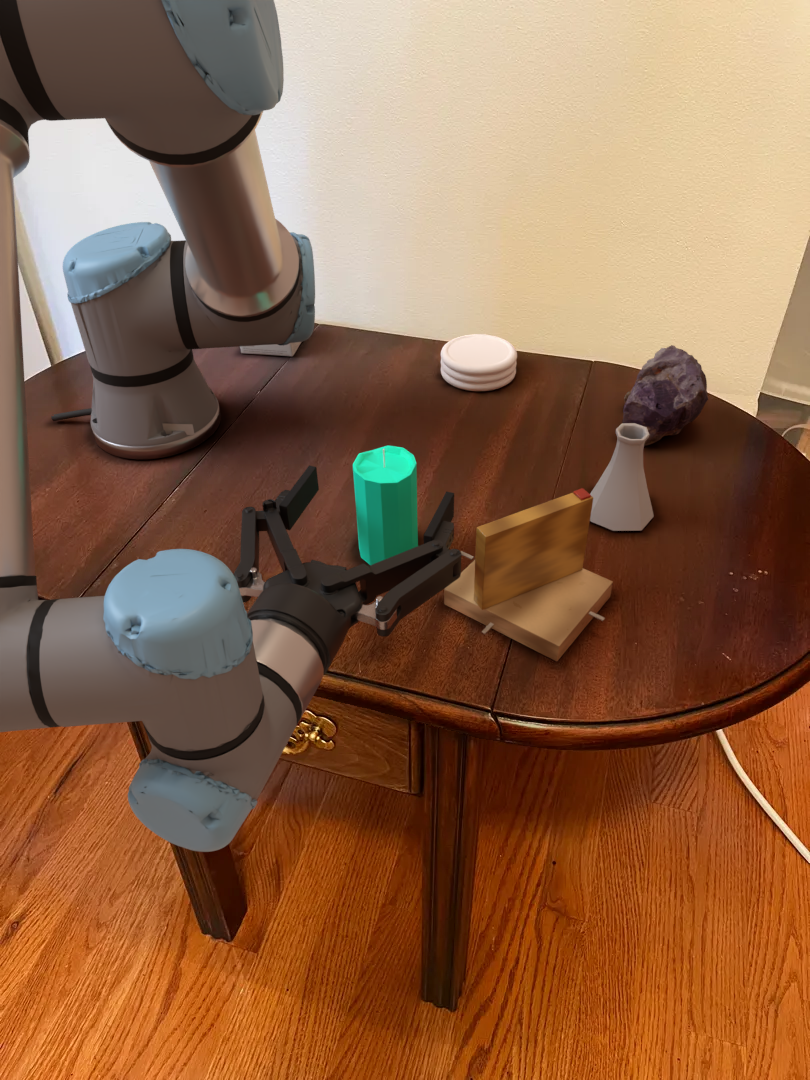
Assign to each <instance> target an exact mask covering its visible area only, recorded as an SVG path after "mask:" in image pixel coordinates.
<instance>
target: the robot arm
mask: <svg viewBox="0 0 810 1080" xmlns="http://www.w3.org/2000/svg"><path fill="white" fill-rule="evenodd" d="M283 57H284V56H283V49H282V38H281V30H280V24H279V17H278V12H277V8H276V4H275V0H0V733H6V732H7V733H8V732H17V731H29V730H36V729H37V730H38V729H39V730H40V729H50V728H60V727H61V728H68V727H69V728H70V727H80V726H95V725H107V724H120V723H121V724H122V723H131V722H133V723H134V722H142V724H143V727H144V730H145V733H146V736H147V738H148V741H149V743H150V746H151V749H150V752H149V754H148V755H147V756H146V757H145V758H143V759H141V761H140V762H139V764H138V769H137V770H136V772H135V774H134V776H133V778H132V780H131V782H130V784H129V787H128V792H127V800H128V801H127V802H128V804H129V807H130V810H131V811H132V813H133V814H134V815H135V817H136V818H137V819H138V820H139V821H140V822H141V823H142V824H143V826H145V827H146V828H147V830H150V832H152V833H153V834H155V835H156V836H158V837H160V838H161V839H163V840H164V841H166V842H168V843H170V844H173V845H175V846H177V847H180V848H182V849H187V850H190V851H192V852H199V853H209V852H210V853H211V852H215V851H219V850H222V849H223V848H225V847H227V846H228V845H229V844H230V843H231V842H232V841H233V840H234V838H235V836H236V835H237V833H238V831H239V830H240V828H241V827H242V825H243V824H244V822H245V820H246V819H247V818H248V815H249V814H250V813H251V811H252V810H254V809H256V806H257V805H258V802H259V801H258V799H259V797H260V796H261V793H262V792H263V789H264V788H265V786H266V784H267V782H268V781H269V778H270V776H271V774H272V773H273V771H274V769H275V767H276V765H277V763H278V762H279V759H280V757H281V756H282V754H283V752H284V750H285V748H286V747H287V745H288V743H289V741H290V739H291V737H292V735H293V733H294V731H295V730H296V728H297V727H298V724H299V722H300V720H301V719H302V717H303V715H305V712H306V710H307V708H308V707H309V705H310V703H311V701H312V699H313V697H314V695H315V694H316V692H317V690H318V688H319V686H320V684H321V683H322V680H323V678H324V675H325V674H327V672H328V670H329V668H330V667H331V665H332V663H333V661H334V659H335V658H336V656H337V654H338V653H339V651H340V649H341V647H342V645H343V643H344V641H345V639H346V636H347V635H348V632H349V630H350V629H351V628H352V627H353V626H354V625H356V624H358V623H359V622H362V623H365V624H367V625H370V626H373V627H376V628H375V630H376V634H377V635H378V636H379V637H382V638H385V637H389V636H390V635H391V634H392V633H393V631H394V630H395V629H396V627H397V626H398V624H399V623H400V621H401V620H402V619H403V618H405V617H406V616H408V615H410V613H413V612H414V611H415V610H416V609H418V608H419V607H420V606H422V605H423V604H425V603H426V602H427V601H429V600H430V599H432V598H433V597H434V596H436V595H438V594H439V593H440V592H441V591H444V589H445V588H446V587H447V586H449V585H450V584H451V583H453V582H454V581H456V580H457V579H458V578H459V577H460V576H461V572H462V555H461V551H462V550H459V548H458V549H457V548H451V546H452V543H453V542H454V539H455V523H454V522H452V521H453V519H454V518H455V492H451V491H448V490H447V491H445V493H444V495H443V497H442V498H441V501H440V503H439V504H438V507H437V509H436V511H435V513H434V514H433V516H432V518H431V520H430V522H429V524H428V525H427V528H426V530H425V532H424V534H423V544H420V545H418V546H417V547H415V548H412V549H410V550H407V551H405V552H402V553H400V554H397V555H395V556H392V557H390V558H387V559H385V560H382V561H380V562H377V563H375V564H372V565H370V564H369V565H368V564H366V563H361V564H358V565H356V566H353V567H352V568H348V569H347V566H343V565H335V564H334V565H333V564H326V563H324V562H322V561H320V560H316V559H311V560H310V561H307V562H306V561H305V562H302V560H301V557H300V555H299V553H298V551H297V549H296V548H295V547H294V545H293V543H292V540H291V538H290V536H289V533H288V531H291V530H292V528H293V527H294V525H295V524H296V523H297V521H298V520H299V518H300V517H301V516H302V515H303V513H304V511H305V510H306V509H307V508H308V506H309V505H310V503H311V502H312V500H313V499H314V497H315V496H316V494H318V492H319V490H320V488H319V487H320V486H319V480H318V479H319V478H318V469H317V468H318V467H317V466H314V465H308V466H307V467H306V469H305V470H304V471H303V472H302V474H301V476H300V477H299V478H298V480H297V481H296V482H295V483H294V485H293V486H292V487H291V489H284V490H282V491H281V492H279V494H278V496H277V497H276V498H275V499H272V498H268V499H265V500H264V501H262V510H256V508H255V507H254V506H246V507H244V508H243V509H242V510H241V527H240V528H241V529H240V531H241V532H240V554H239V555H240V556H239V557H240V558H239V563H238V565H237V567H236V569H235V570H234V572H232V570H231V569H230V568H229V567H228V565H227V564H225V563H224V562H223V560H220V559H219V558H217V557H215V556H214V555H212V554H209V553H206V552H203V551H201V550H196V549H189V548H172V549H163V550H159V551H157V552H156V554H155V556H153V557H150V558H148V559H141V558H138V559H136V560H134V561H132V562H130V563H129V564H127V565H126V566H125V567H123V568H122V569H121V570H120V571H119V572H118V573H117V574H116V575H115V576H114V577H113V578H112V579H111V582H110V583H109V584H108V586H107V588H106V591H105V593H104V595H95V596H81V597H69V598H51V599H39V594H38V583H37V581H38V579H37V575H36V562H35V561H36V560H35V546H34V543H35V542H34V529H33V527H34V525H33V512H32V511H33V510H32V493H31V491H32V490H31V489H32V488H31V473H30V472H31V471H30V456H29V453H30V452H29V438H28V420H27V404H26V403H27V402H26V382H25V366H24V347H23V346H24V345H23V328H22V315H21V314H22V311H21V294H20V293H21V292H20V291H21V290H20V276H19V273H20V272H19V258H18V256H19V254H18V239H17V238H18V237H17V221H16V204H15V203H16V201H15V200H16V199H15V185H14V184H15V183H14V178H15V177H17V176H18V175H20V174H21V173H22V172H23V171H24V170H25V169H26V168H27V167H28V165H29V164H30V158H31V155H30V154H31V152H30V151H31V150H30V142H29V141H30V140H29V130H30V128H31V126H32V125H34V124H35V123H37V122H38V121H51V122H55V121H72V120H73V121H74V120H96V119H97V120H98V119H99V120H100V119H104V120H105V121H106V123H107V125H108V127H109V129H110V130H111V131H112V134H114V136H115V137H116V138H117V140H119V141H120V142H121V144H122V145H124V146H125V147H126V148H127V149H128V150H129V151H131V152H132V153H133V154H135V155H136V156H139V157H140V158H142V159H144V160H146V161H148V162H149V164H150V166H151V169H152V170H153V172H154V175H155V177H156V179H157V181H158V183H159V186H160V188H161V189H162V192H163V194H164V196H165V199H166V201H167V203H168V205H169V207H170V209H171V211H172V214H173V215H174V218H175V220H176V222H177V224H178V226H179V228H180V230H181V233H182V235H183V237H184V239H185V240H172V235H171V234H170V232H169V231H168V229H167V228H166V226H164V225H163V224H161V223H157V222H155V223H152V222H150V221H138V222H137V221H136V222H130V223H125V224H119V225H116V226H115V225H114V226H112V227H107V228H105V229H103V230H100V231H96V232H94V233H93V234H90V235H88V236H86V237H84V238H83V239H80V240H79V241H78V242H76V243H75V244H73V246H72V247H70V248H69V249H68V251H67V252H66V254H65V255H64V257H63V261H62V272H63V276H64V280H65V281H64V282H65V284H66V289H67V293H66V294H67V300H68V302H69V303H70V306H71V308H72V311H73V315H74V318H75V322H76V325H77V329H78V331H79V335H80V338H81V342H82V345H83V348H84V351H85V354H86V358H87V361H88V364H89V368H90V371H91V374H92V375H91V376H92V380H93V382H92V393H91V394H92V395H91V396H92V397H91V398H92V399H91V407H90V408H83V409H82V408H81V409H77V410H72V411H71V410H69V411H64V412H59V413H55V414H53V415H54V416H52V415H50V419H51V420H52V421H53V422H57V421H63V420H69V419H74V418H80V417H81V418H82V417H86V416H90V428H91V432H92V435H93V437H94V441H95V442H96V444H97V445H98V447H99V448H100V449H101V450H102V451H104V452H106V453H108V454H110V455H112V456H115V457H118V458H123V459H129V460H130V459H131V460H153V459H160V458H167V457H171V456H172V457H173V456H175V455H178V454H181V453H185V452H187V451H189V450H192V449H193V448H196V447H198V446H199V445H201V444H203V443H204V442H205V441H207V440H208V439H210V438H211V436H213V435H214V434H215V432H217V430H218V428H219V427H220V424H221V420H222V415H221V408H220V404H219V400H218V397H217V396H216V394H215V392H213V390H212V388H211V387H210V386H209V384H208V382H207V380H206V379H205V377H204V375H203V373H202V371H201V369H200V368H199V366H198V365H197V362H196V361H195V357H194V352H193V350H201V349H219V348H235V347H236V348H237V347H238V348H239V347H240V346H255V345H272V344H277V345H280V346H281V345H283V346H284V345H287V344H289V343H295V342H301V343H302V342H306V341H307V340H309V339H310V338H311V337H312V336H313V333H314V329H315V322H316V321H315V320H316V306H315V304H316V277H315V261H314V260H315V259H314V251H313V246H312V242H311V240H310V238H309V237H308V236H307V235H305V234H302V233H296V232H293V231H291V232H290V231H289V230H288V228H287V227H286V226H285V225H284V224H283V223H282V222H280V221H279V220H278V218H277V219H276V217H275V211H274V208H273V207H274V206H273V203H272V199H271V194H270V190H269V186H268V185H269V184H268V181H267V176H266V171H265V168H264V164H263V159H262V155H261V151H260V145H259V142H258V137H257V133H256V129H257V127H258V125H259V123H260V121H261V119H262V116H263V114H264V111H270V110H273V109H274V108H276V107H275V106H276V105H277V104H278V103H280V101H281V99H282V96H283V92H284V81H285V80H284V79H285V78H284V58H283ZM260 532H266V534H267V536H268V538H269V541H270V543H271V546H272V548H273V550H274V553H275V555H276V558H277V560H278V563H279V565H280V568H281V570H282V571H281V572H280V573H277V574H274V575H272V576H271V577H268V579H266V580H264V579H263V575H262V572H260ZM450 548H451V549H450ZM358 582H359V586H360V588H358V586H357V583H358ZM382 594H384V596H381V595H382ZM252 597H253V598H256V599H255V601H254V602H253V604H252V605H251V606H250V608H249V609H248V611H247V610H246V608H245V604H244V603H247V602H249V601H250V600H251V599H252Z"/></svg>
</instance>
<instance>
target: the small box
mask: <svg viewBox="0 0 810 1080" xmlns="http://www.w3.org/2000/svg"><path fill="white" fill-rule="evenodd" d="M301 344H302V342H295V343H289V344H287V345H284V346H283V345H281V346H280V345H277V344H272V345H255V346H239V349H240V353H241V354H247V355H248V354H249V355H262V356H263V355H265V356H282V357H294V355H295V354H296V352H297V350H298V349H299V347H300V345H301Z"/></svg>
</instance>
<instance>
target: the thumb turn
mask: <svg viewBox="0 0 810 1080" xmlns="http://www.w3.org/2000/svg"><path fill="white" fill-rule="evenodd" d="M592 504H593V497H592V496H591V495H590V493H589V492H588V491H587V490H585V488H584V487H581V488H579V489H575V490H573V491H572V492H570V493H567V494H565V495H562V496H559V497H556V498H554V499H550V500H548V501H545V502H543V503H539V504H537V505H533V506H532V507H529V508H526V509H523V510H519V511H518V512H515V513H512V514H509V515H507V516H504V517H501V518H498V519H495V520H493V521H490V522H486V523H485V524H482V525H478V526H477V527H476V532H475V553H474V554H475V555H474V560H475V577H474V601H475V602H476V603H477V605H478V606H479V607H480V608H481V609H482V610H483V609H486V608H488V607H491V606H493V605H496V604H498V603H501V602H503V601H506V600H508V599H511V598H513V597H516V596H518V595H521V594H523V593H526V592H528V591H531V590H533V589H536V588H538V587H541V586H543V585H546V584H548V583H551V582H553V581H556V580H558V579H561V578H563V577H566V576H568V575H571V574H573V573H576V572H578V571H581V570H582V569H583V568H584V561H585V555H586V549H587V542H588V535H589V528H590V522H591V521H590V517H591V510H592Z"/></svg>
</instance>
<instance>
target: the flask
mask: <svg viewBox="0 0 810 1080" xmlns="http://www.w3.org/2000/svg"><path fill="white" fill-rule="evenodd" d="M615 434H616V438H617V440H616V445H615V448H614V450H613V453H612V456H611V458H610V460H609V463H608V465H606V467H605V469H604V471H603V473H602V475H601V476H600V477H599V479H598V481H597V482H596V484H595V485H594V487H593V489H592V490H591V492H590V493H589V494H590V495H591V496H592V497H593V504H592V510H591V517H590V522H591V523H593V524H596V525H598V526H601V527H603V528H605V529H608V530H610V531H612V532H618V531H619V532H620V531H621V532H624V531H625V532H626V531H627V532H629V531H630V532H631V531H633V532H634V531H640V532H641V531H643V530H644V529H645V527H646V526H647V525H648V524H649V523H650V521H651V520H652V519H653V518H654V516H655V515H654V510H653V506H652V502H651V498H650V493H649V489H648V485H647V479H646V474H645V467H644V447H645V445H644V443H645V441H646V440H647V439H648V437H649V432H648V430H647V427H644V426H641V425H638V424H635V423H620V425H619V426H617V427H616V428H615Z"/></svg>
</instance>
